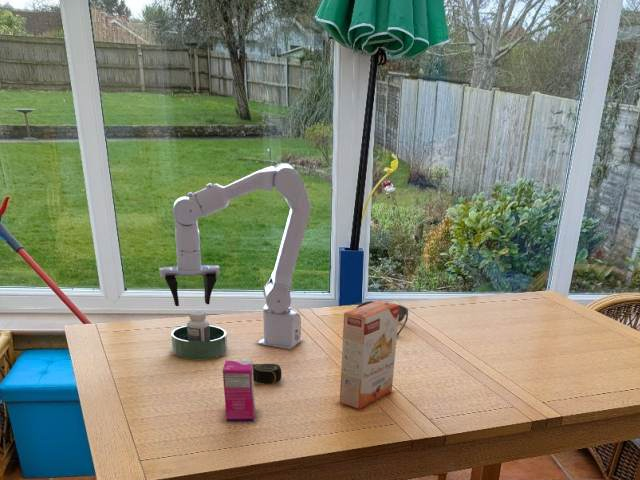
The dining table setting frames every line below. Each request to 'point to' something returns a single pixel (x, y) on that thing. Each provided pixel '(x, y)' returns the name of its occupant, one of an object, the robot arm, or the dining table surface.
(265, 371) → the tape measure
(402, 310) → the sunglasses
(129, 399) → the dining table surface
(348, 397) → the cracker box
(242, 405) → the supplement box
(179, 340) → the bowl
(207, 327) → the pill bottle
